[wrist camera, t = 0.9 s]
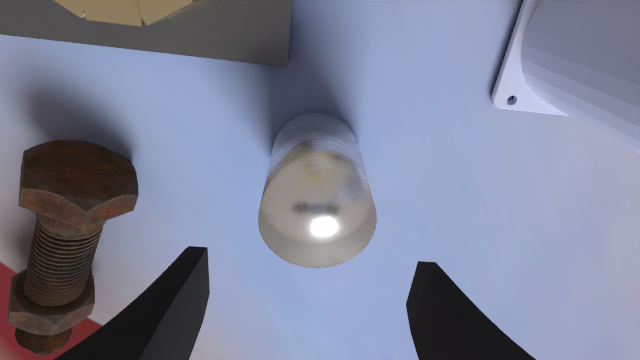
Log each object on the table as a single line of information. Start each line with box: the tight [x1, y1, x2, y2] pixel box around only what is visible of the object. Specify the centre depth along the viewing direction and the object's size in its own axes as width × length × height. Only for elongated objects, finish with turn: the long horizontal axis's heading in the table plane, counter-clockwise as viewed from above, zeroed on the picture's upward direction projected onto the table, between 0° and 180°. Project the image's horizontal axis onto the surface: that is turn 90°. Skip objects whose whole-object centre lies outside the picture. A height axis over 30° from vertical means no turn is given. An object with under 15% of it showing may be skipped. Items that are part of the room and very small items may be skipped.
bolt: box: [8, 140, 138, 356], centre depth 23 cm, size 6×5×15 cm
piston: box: [258, 113, 377, 268], centre depth 19 cm, size 5×5×7 cm
